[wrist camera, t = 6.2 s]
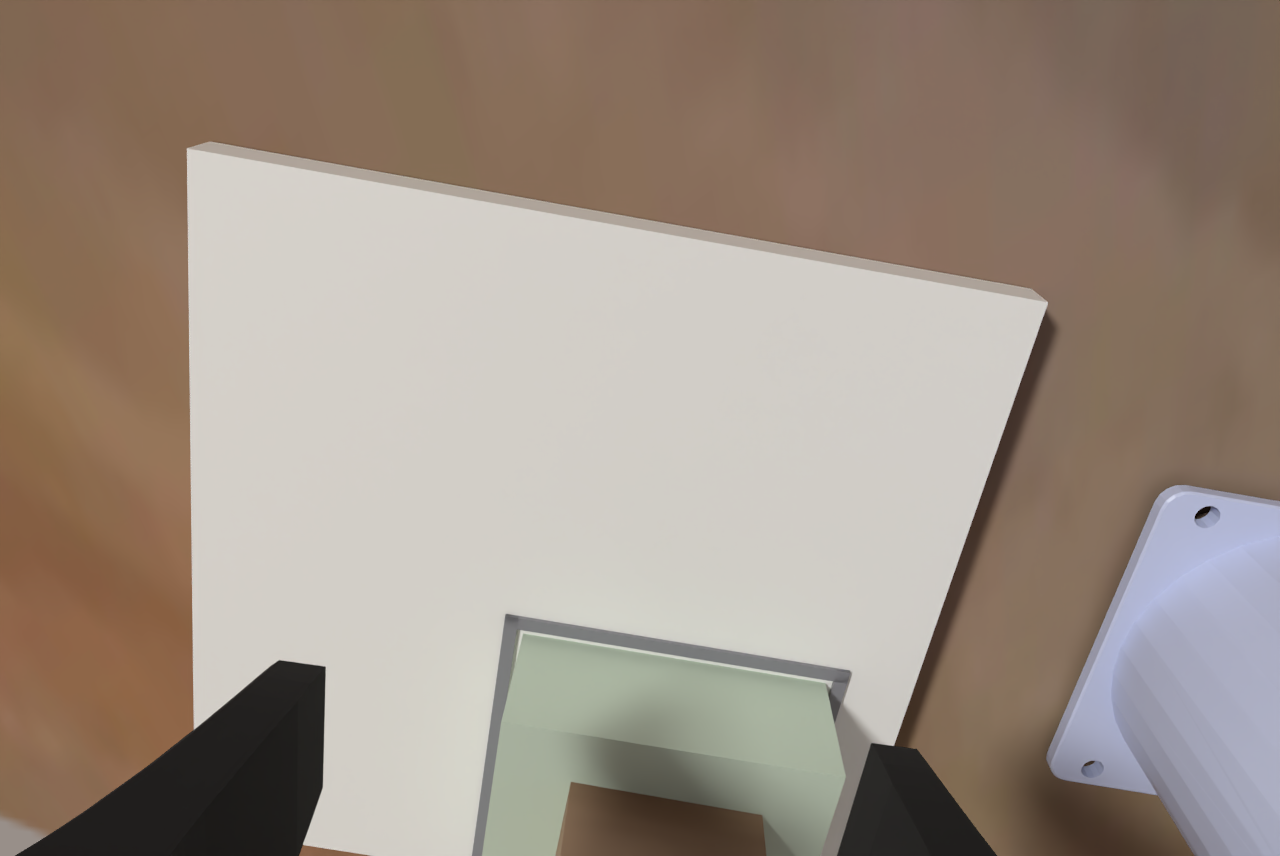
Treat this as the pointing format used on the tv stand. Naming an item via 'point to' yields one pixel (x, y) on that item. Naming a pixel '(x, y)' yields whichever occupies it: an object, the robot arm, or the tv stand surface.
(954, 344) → the baseplate
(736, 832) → the walnut cube
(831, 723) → the sage base block
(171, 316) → the tv stand surface
